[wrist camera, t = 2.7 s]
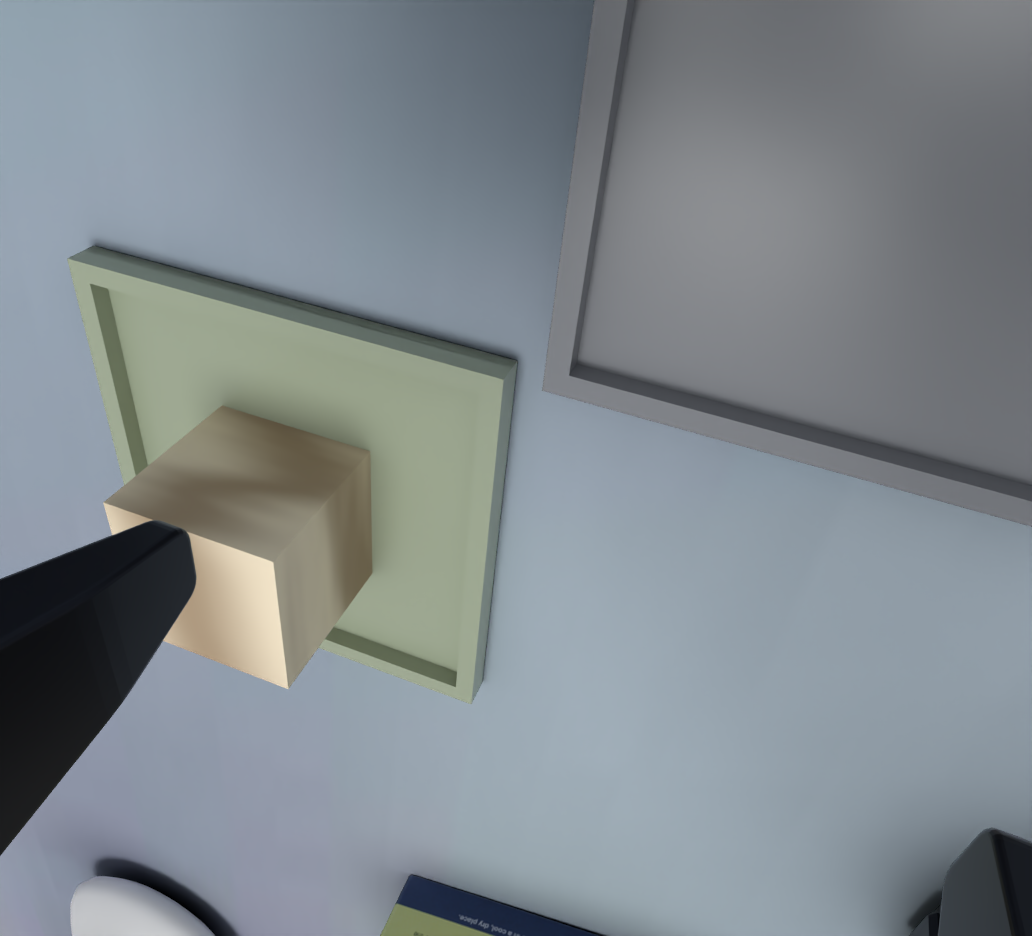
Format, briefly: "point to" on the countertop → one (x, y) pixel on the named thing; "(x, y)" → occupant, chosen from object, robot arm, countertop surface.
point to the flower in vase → (129, 911)
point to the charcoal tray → (810, 235)
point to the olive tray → (335, 415)
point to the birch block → (259, 537)
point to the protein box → (463, 915)
